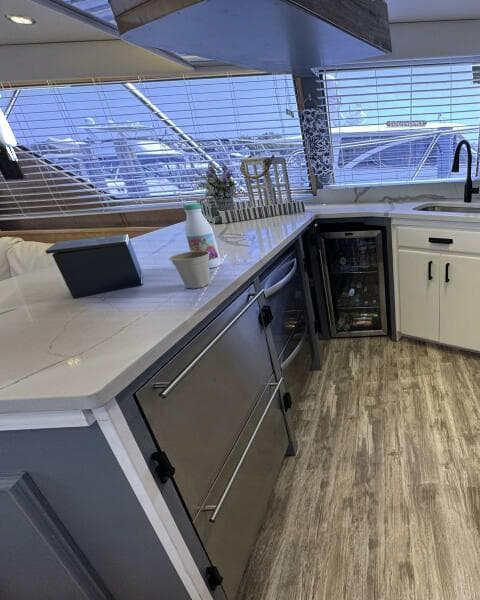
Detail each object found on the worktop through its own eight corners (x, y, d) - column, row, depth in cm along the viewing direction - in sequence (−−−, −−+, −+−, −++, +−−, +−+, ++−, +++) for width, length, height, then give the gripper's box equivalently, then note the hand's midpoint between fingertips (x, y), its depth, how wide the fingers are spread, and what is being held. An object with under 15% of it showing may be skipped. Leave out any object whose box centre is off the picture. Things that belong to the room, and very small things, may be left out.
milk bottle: (199, 264, 109) (180, 203, 101) (224, 261, 111) (208, 201, 103) (193, 270, 102) (172, 206, 94) (219, 267, 104) (202, 204, 96)
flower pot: (209, 277, 95) (201, 248, 92) (223, 283, 90) (215, 253, 86) (173, 286, 89) (163, 256, 85) (187, 294, 83) (176, 261, 80)
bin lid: (46, 253, 78) (45, 250, 77) (57, 245, 87) (56, 242, 87) (126, 244, 86) (125, 241, 86) (128, 237, 95) (127, 234, 95)
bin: (73, 298, 83) (51, 254, 78) (81, 285, 92) (62, 245, 88) (142, 285, 91) (126, 244, 86) (143, 274, 100) (129, 237, 96)
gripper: (-40, 92, 72) (3, 179, 79) (-75, 78, 61) (-21, 181, 68) (8, 95, 76) (45, 178, 83) (-16, 82, 65) (29, 179, 72)
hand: (16, 179), depth 75 cm, fingers closed
